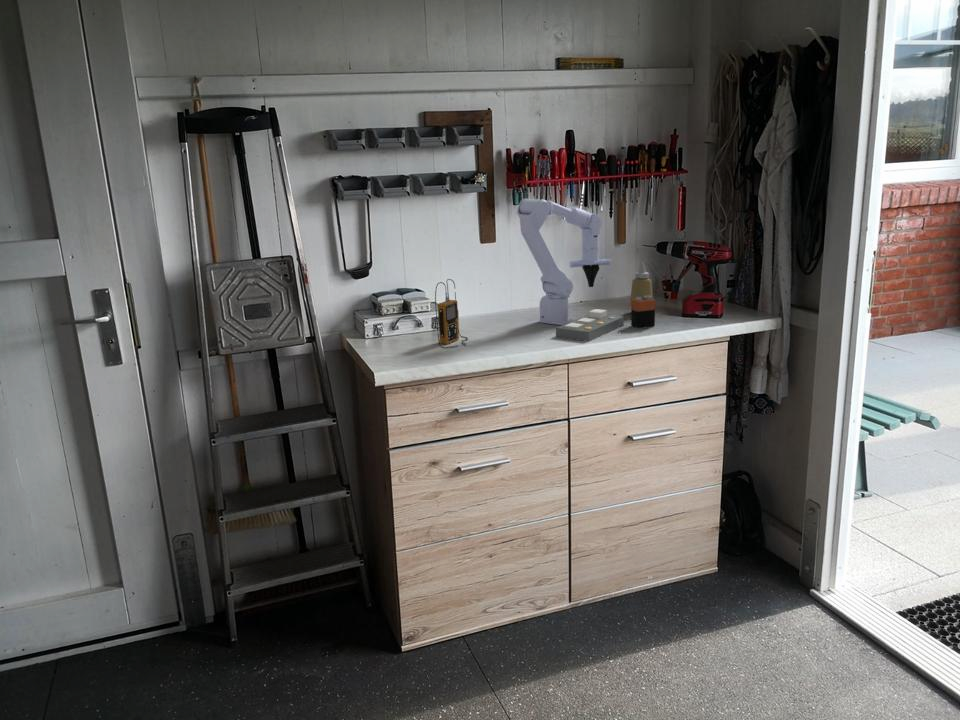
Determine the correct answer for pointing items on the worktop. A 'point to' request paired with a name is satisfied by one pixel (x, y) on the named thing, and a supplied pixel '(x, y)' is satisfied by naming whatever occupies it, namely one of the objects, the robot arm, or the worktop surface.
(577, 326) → the button
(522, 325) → the worktop surface
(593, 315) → the button
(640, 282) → the squeeze bottle
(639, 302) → the battery
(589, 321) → the button
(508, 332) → the worktop surface
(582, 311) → the worktop surface
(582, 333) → the button panel
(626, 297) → the worktop surface
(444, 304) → the multimeter
